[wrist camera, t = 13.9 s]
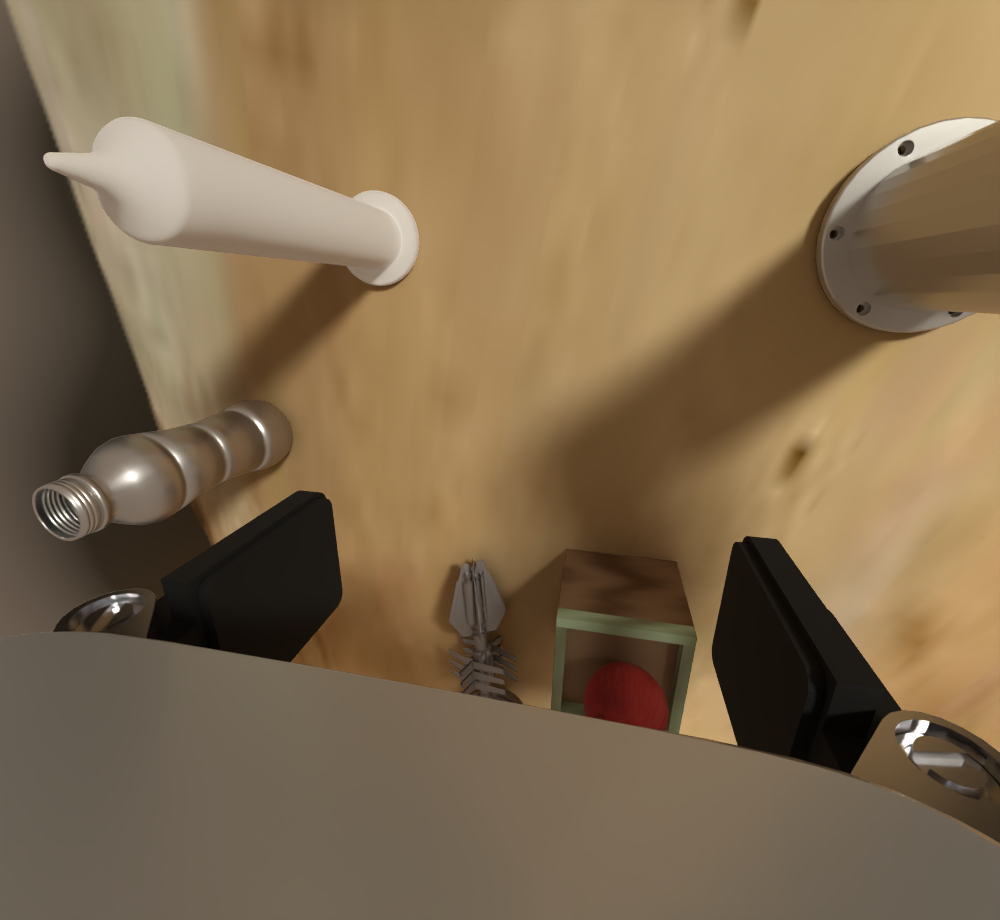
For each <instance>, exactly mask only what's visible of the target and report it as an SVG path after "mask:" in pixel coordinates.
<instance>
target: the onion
mask: <svg viewBox="0 0 1000 920" xmlns="http://www.w3.org/2000/svg"><path fill="white" fill-rule="evenodd" d="M583 703H584V711H585V715H586V716H587V717H593V718H598V719H603V720H609V721H614V722H619V723H625V724H630V725H635V726H641V727H646V728H651V729H656V730H662V731H666V727H667V723H668V718H669V710H668V706H667V702H666V699H665V695H664V691H663V689H662V688H661V686H660V685H659V684H658V683H657V681H656V680H655V679H654V678H653V677H652V676H651V674H650V673H648V672H647V671H645V670H644V669H642V668H641V667H639V666H636V665H633V664H630V663H627V662H612V663H609V664H606V665H604V666H601V667H600V668H599V669H598V670H597V671H596V672H595V673H594V674H593V675H592V677H591V678H590V679H589V681H588V684H587V687H586V690H585V694H584V699H583Z"/></svg>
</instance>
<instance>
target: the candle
mask: <svg viewBox="0 0 1000 920" xmlns="http://www.w3.org/2000/svg"><path fill="white" fill-rule="evenodd" d="M44 163H45V164H46V166H47V167H48V168H50V169H51V170H53V171H56V172H58V173H60V174H62V175H64V176H67V177H69V178H71V179H73V180H75V181H78V182H80V183H82V184H84V185H87V186H89V187H91V188H93V189H94V190H95V191H96V194H97V197H98V199H99V201H100V203H101V205H102V207H103V209H104V210H105V212H106V213H107V215H108V216H109V217H110V219H111V220H112V221H113V222H114V223H115V224H116V225H117V226H118V227H119V228H120V229H121V230H122V231H123V232H125V233H126V234H127V235H129V236H130V237H132V238H134V239H136V240H138V241H141V242H144V243H147V244H152V245H161V246H170V247H179V248H188V249H197V250H206V251H215V252H224V253H233V254H242V255H251V256H261V257H270V258H279V259H288V260H297V261H306V262H315V263H324V264H333V265H343V266H346V267H347V268H348V269H349V271H350V272H351V273H352V274H353V275H354V276H356V277H357V278H358V279H360V280H361V281H363V282H365V283H368V284H371V285H376V286H387V285H391V284H394V283H397V282H398V281H400V280H402V279H403V278H404V277H405V276H406V275H407V274H408V273H409V272H410V271H411V269H412V268H413V266H414V264H415V262H416V259H417V256H418V251H419V234H418V229H417V225H416V222H415V220H414V218H413V216H412V214H411V212H410V211H409V209H408V208H407V207H406V206H405V205H404V203H403V202H401V201H400V200H399V199H398V198H396V197H394V196H393V195H391V194H388V193H386V192H383V191H376V190H372V191H365V192H362V193H360V194H358V195H356V196H354V197H353V198H350V197H347V196H344V195H342V194H339V193H336V192H334V191H331V190H329V189H326V188H323V187H321V186H318V185H316V184H313V183H310V182H308V181H305V180H302V179H300V178H297V177H295V176H292V175H289V174H287V173H284V172H281V171H279V170H276V169H274V168H271V167H268V166H266V165H263V164H260V163H258V162H255V161H253V160H250V159H247V158H245V157H242V156H239V155H237V154H234V153H232V152H229V151H226V150H224V149H221V148H219V147H216V146H213V145H211V144H208V143H205V142H203V141H200V140H198V139H195V138H192V137H190V136H187V135H184V134H182V133H179V132H177V131H174V130H171V129H169V128H166V127H163V126H161V125H158V124H156V123H153V122H150V121H148V120H145V119H142V118H137V117H120V118H117V119H114V120H112V121H111V122H109V123H108V124H106V125H105V126H104V127H103V128H102V129H101V130H100V132H99V133H98V135H97V137H96V139H95V141H94V144H93V147H92V152H90V153H52V152H49V153H46V154H45V155H44Z"/></svg>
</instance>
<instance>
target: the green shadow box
mask: <svg viewBox="0 0 1000 920" xmlns="http://www.w3.org/2000/svg"><path fill="white" fill-rule="evenodd" d="M696 641H697V636H696V632H695V628H694V625H693V621H692V617H691V614H690V610H689V606H688V603H687V599H686V596H685V592H684V588H683V585H682V581H681V577H680V574H679V570H678V566H677V563H676V562H673V561H665V560H656V559H647V558H639V557H630V556H621V555H612V554H604V553H595V552H586V551H578V550H569V549H566V556H565V563H564V570H563V577H562V584H561V591H560V598H559V605H558V612H557V621H556V637H555V653H554V668H553V684H552V700H551V710H555V711H561V712H566V713H571V714H577V715H582V716H586V715H585V711H584V703H583V699H584V694H585V690H586V687H587V684H588V681H589V679H590V678H591V677H592V675H593V674H594V673H595V672H596V671H597V670H598V669H599V668H600V667H601V666H604V665H606V664H609V663H612V662H627V663H630V664H633V665H636V666H639V667H641V668H642V669H644V670H645V671H647V672H648V673H650V674H651V676H652V677H653V678H654V679H655V680H656V681H657V683H658V684H659V685H660V686H661V688H662V689H663V691H664V695H665V699H666V702H667V706H668V710H669V718H668V723H667V727H666V731H667V732H672V733H678V734H679V730H680V725H681V719H682V714H683V709H684V704H685V698H686V693H687V688H688V683H689V678H690V672H691V667H692V662H693V657H694V651H695V646H696Z"/></svg>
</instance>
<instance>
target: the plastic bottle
mask: <svg viewBox="0 0 1000 920" xmlns="http://www.w3.org/2000/svg"><path fill="white" fill-rule="evenodd" d="M291 444H292V429H291V426H290V423H289V421H288V419H287V418H286V416H285V415H284V414H283V412H281V411H280V410H279V409H278V408H276V407H275V406H273V405H272V404H270V403H268V402H265V401H261V400H248V401H240V402H237V403H235V404H233V405H231V406H229V407H227V408H225V409H224V410H222V411H221V412H219V413H217V414H215V415H213V416H210V417H208V418H205V419H203V420H201V421H198V422H196V423H193V424H188V425H185V426H180V427H176V428H172V429H168V430H161V431H154V432H146V433H138V434H133V435H126V436H121V437H117V438H113V439H111V440H109V441H107V442H106V443H104V444H103V445H102V446H100V447H98V448H97V449H96V450H95V451H94V452H93V453H92V455H91V456H90V457H89V459H88V460H87V462H86V463H85V465H84V466H83V468H82V470H81V472H80V474H69V475H67V476H64V477H62V478H60V479H59V480H58V481H55V482H52V483H49V484H46V485H44V486H42V487H40V488H38V489H37V490H36V491H35V492H34V494H33V496H32V506H33V509H34V512H35V514H36V516H37V518H38V520H39V522H40V523H41V524H42V525H43V527H44V528H45V529H46V530H47V531H48V532H50V533H51V534H52V535H54V536H55V537H57V538H60V539H61V540H65V541H73V540H75V539H79V538H81V537H83V536H85V535H87V534H89V533H91V532H96V531H99V530H101V529H103V528H105V527H107V526H108V525H109V524H110V522H115V523H120V524H136V525H144V524H150V523H155V522H160V521H163V520H165V519H166V518H168V517H170V516H171V515H173V514H175V513H176V512H177V511H179V510H180V509H182V508H183V507H185V506H186V505H188V504H189V503H190V502H192V501H193V500H195V499H196V498H197V497H199V496H200V495H202V494H203V493H205V492H207V491H209V490H210V489H212V488H214V487H216V486H217V485H219V484H221V483H223V482H225V481H227V480H230V479H232V478H235V477H238V476H241V475H243V474H246V473H249V472H254V471H259V470H263V469H266V468H269V467H272V466H274V465H276V464H277V463H278V462H279V461H280V460H282V459H283V458H284V457H285V456H286V455H287V454H288V452H289V450H290V448H291Z"/></svg>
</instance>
